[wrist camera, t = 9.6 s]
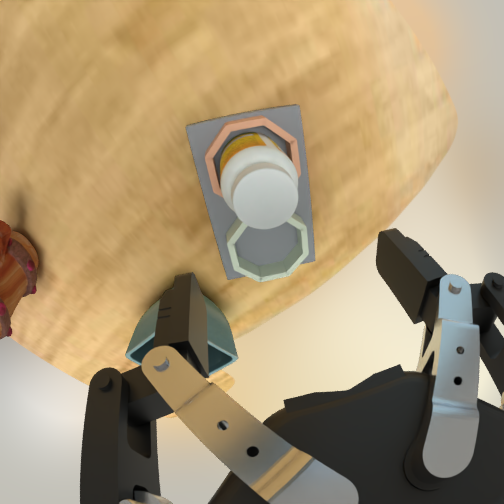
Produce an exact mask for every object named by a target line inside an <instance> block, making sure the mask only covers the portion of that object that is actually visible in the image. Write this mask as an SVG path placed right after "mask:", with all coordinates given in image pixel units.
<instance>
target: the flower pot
mask: <svg viewBox="0 0 504 504" xmlns="http://www.w3.org/2000/svg"><path fill="white" fill-rule="evenodd" d="M173 288H174V287H173ZM173 288H172V289H173ZM202 295H203V294H202ZM203 298H204V301H205V305H206V310H207V338H208V365H209V375H211V374H213V373H215V372H217V371H219V370H221V369H223V368H224V367H226V366H228V365H230V364H232V363H233V362H235V361H236V360H237V359H238V356H237V352H236V348H235V344H234V340H233V336H232V332H231V329H230V326H229V323H228V321H227V319H226V317H225V316H224V314H223V313H222V312H221V310H220V309H219V308H218V307H217V306H216V305H215V304H214V303H213V302H212V301H211V300H210V299H208V298H207V297H205V296H204V295H203ZM160 299H161V298H160ZM160 299H159V300H158V301H157V302H156V303H155V304H153V305H152V306H151V307H150V308H149V309H148V310H147V311H146V312H145V314H144V315H143V316H142V318H141V319H140V321H139V322H138V324H137V326H136V328H135V331H134V333H133V336H132V338H131V341H130V343H129V346H128V349H127V351H126V354H125V356H126V358H128V359H129V360H131V361H133V362H135V363H137V364H139V365H142V360H143V358H144V357H145V355H146V354H147V353H148V352H149V351H150V350H152V349H153V344H154V336H155V329H156V322H157V319H158V318H157V316H158V311H159V310H158V309H159V303H160Z"/></svg>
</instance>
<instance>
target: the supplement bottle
mask: <svg viewBox="0 0 504 504" xmlns="http://www.w3.org/2000/svg"><path fill="white" fill-rule="evenodd" d="M220 184H221V192H222V195H223V198H224V200H225V202H226V203H227V205H228V206H229V207H230V208H231V209H232V210H233V211H234V212H235V213H236V215H237V217H238V218H239V219H240V220H241V221H242V222H243V223H244V224H246V225H248V226H249V227H252V228H255V229H271V228H275V227H278V226H280V225H282V224H283V223H285V222H286V221H287V220H288V219H289V218H290V217H291V216H292V215H293V213H294V212H295V210H296V207H297V204H298V190H297V189H298V175H297V171H296V168H295V166H294V164H293V163H292V161H291V160H290V159H289V157H288V156H287V155H286V154H285V153H284V152H283V151H282V150H281V148H280V147H279V146H278V145H277V144H276V143H275V142H274V141H273V140H272V139H271V138H270V137H268V136H267V135H265V134H262V133H259V132H244V133H241V134H238V135H236V136H234V137H233V138H231V139H230V140H229V141H228V142H227V143H226V145H225V146H224V148H223V150H222V152H221V156H220Z"/></svg>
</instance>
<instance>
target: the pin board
mask: <svg viewBox="0 0 504 504" xmlns="http://www.w3.org/2000/svg"><path fill="white" fill-rule="evenodd" d="M186 130H187V134H188V138H189V142H190V146H191V150H192V154H193V158H194V162H195V165H196V169H197V173H198V177H199V180H200V184H201V188H202V191H203V195H204V199H205V202H206V206H207V210H208V213H209V217H210V220H211V224H212V227H213V231H214V234H215V238H216V241H217V245H218V248H219V252H220V255H221V259H222V262H223V265H224V269H225V272H226V276H227V279H228V280H230V279H235V278H240V277H245V276H247V277H249V278H252V279H254V280H256V281H258V282H264V281H268V280H273V279H278V278H282V277H287V276H289V275H291V274H292V272H293V271H294V270H295V269H296V268H297V267H298V266H299V265H300V264H304V263H309V262H313V261H315V250H314V235H313V222H312V210H311V198H310V188H309V178H308V169H307V160H306V151H305V143H304V135H303V128H302V120H301V113H300V106H299V105H297V104H294V105H286V106H279V107H273V108H266V109H260V110H254V111H249V112H243V113H238V114H233V115H228V116H224V117H219V118H215V119H210V120H206V121H202V122H198V123H194V124H190V125H187V126H186ZM244 132H259V133H262V134H265V135H267V136H268V137H270V138H271V139H272V140H273V141H274V142H275V143H276V144H277V145H278V146H279V147H280V148H281V150H282V151H283V152H284V153H285V154H286V155H287V156H288V157H289V159H290V160H291V161H292V163H293V164H294V166H295V168H296V171H297V175H298V189H297V190H298V204H297V207H296V210H295V212H294V213H293V215H292V216H291V217H290V218H289V219H288V220H287V221H286V222H285V223H283V224H282V225H280V226H278V227H275V228H271V229H255V228H252V227H249V226H248V225H246V224H244V223H243V222H242V221H241V220H240V219H239V218H238V217H237V215H236V213H235V212H234V211H233V210H232V209H231V208H230V207H229V206H228V205H227V203H226V202H225V200H224V198H223V195H222V192H221V184H220V156H221V152H222V150H223V148H224V146H225V145H226V143H227V142H228V141H229V140H230V139H231V138H233V137H234V136H236V135H238V134H241V133H244Z"/></svg>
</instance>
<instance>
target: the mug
mask: <svg viewBox="0 0 504 504" xmlns="http://www.w3.org/2000/svg"><path fill="white" fill-rule="evenodd" d="M38 264H39V261H38V256H37V252H36V250H35V249H34V247H33V246H32V245H31V243H30V242H29V241H28V240H27V239H26V238H25V237H24V236H23V235H22V234H20V233H18V232H15V231H12V230H11V228H10V227H9V225H7V224H6V223H5V222H3V221H1V220H0V339H2V338H4V337H5V336H11V334H12V329H11V327H10V324H11V321H10V318H11V316H12V314H13V312H14V310H15V308H16V306H17V305H18V303H19V301H20V299H21V298H22V297H25V296H27V295H29V294H35V293H36V286H35V285H36V280H37V267H38Z"/></svg>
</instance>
